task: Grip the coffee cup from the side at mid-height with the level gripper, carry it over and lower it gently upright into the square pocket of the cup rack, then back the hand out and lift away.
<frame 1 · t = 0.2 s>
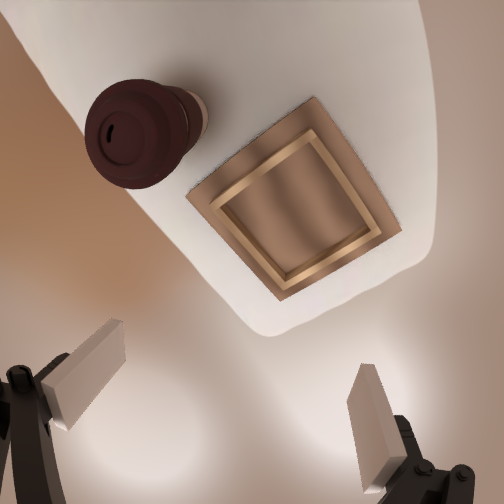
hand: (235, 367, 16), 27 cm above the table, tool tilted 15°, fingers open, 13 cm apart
coffee cup: (181, 117, 35), on the table
cup rack: (296, 207, 39), on the table
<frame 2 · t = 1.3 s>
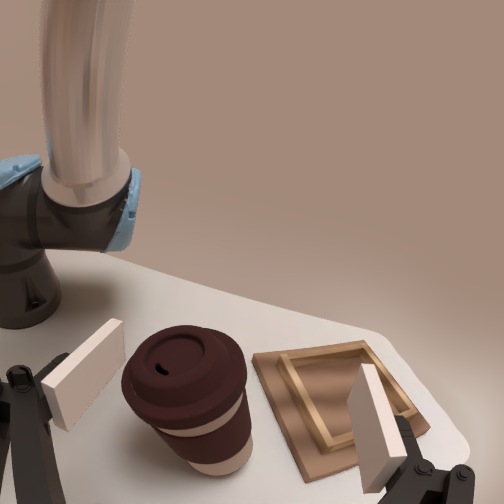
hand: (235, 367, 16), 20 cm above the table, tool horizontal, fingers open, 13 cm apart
coffee cup: (219, 449, 28), point 1 cm above the table
cup rack: (341, 401, 38), on the table
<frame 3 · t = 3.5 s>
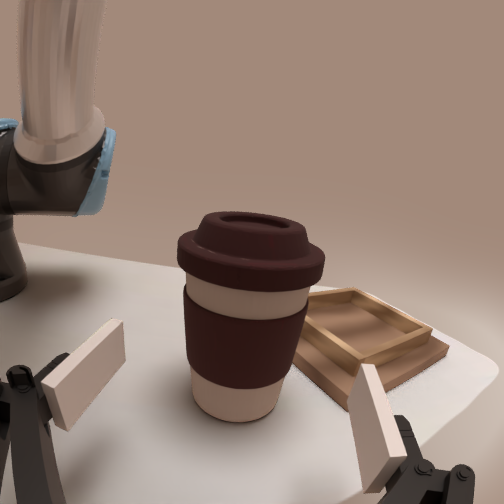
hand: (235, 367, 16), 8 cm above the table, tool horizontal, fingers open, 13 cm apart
coffee cup: (234, 396, 25), on the table
cup rack: (349, 339, 37), on the table
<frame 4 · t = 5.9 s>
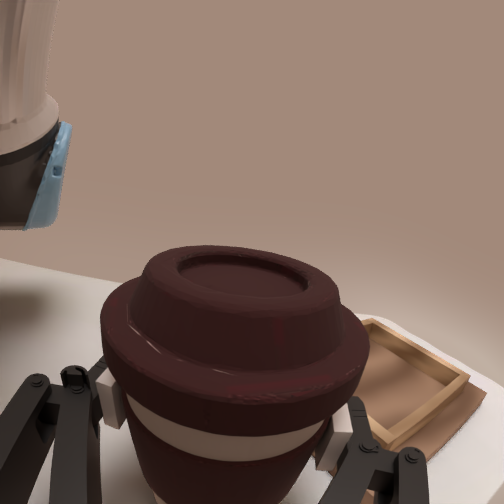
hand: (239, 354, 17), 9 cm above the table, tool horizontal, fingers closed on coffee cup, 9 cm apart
coffee cup: (213, 496, 15), on the table, touching gripper
cup rack: (368, 391, 27), on the table
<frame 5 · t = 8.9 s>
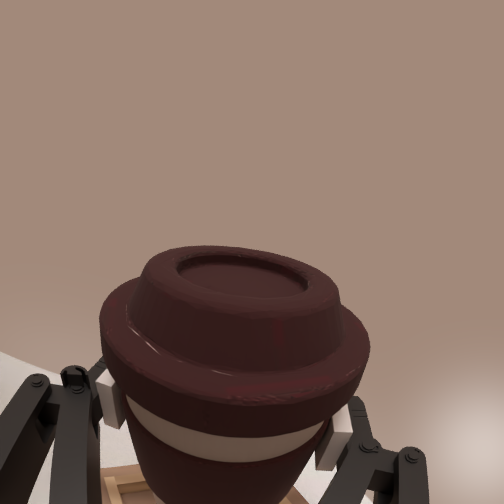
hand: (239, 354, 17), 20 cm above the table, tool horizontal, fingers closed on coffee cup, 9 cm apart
coffee cup: (213, 497, 15), point 11 cm above the table, touching gripper
when the fingers open (11 cm above the table, at t = 11.9 s): coffee cup drops 1 cm, resting on cup rack.
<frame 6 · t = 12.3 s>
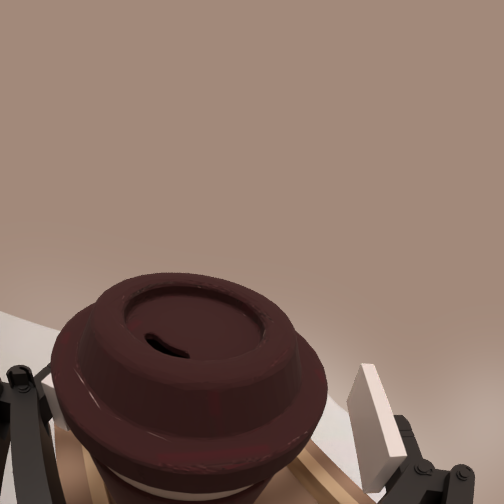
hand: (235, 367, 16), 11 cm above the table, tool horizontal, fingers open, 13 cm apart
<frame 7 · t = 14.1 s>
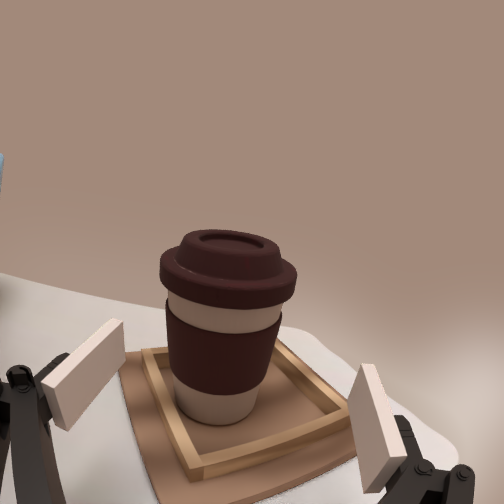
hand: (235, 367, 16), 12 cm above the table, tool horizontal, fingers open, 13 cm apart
coffee cup: (214, 401, 26), point 1 cm above the table, touching cup rack
cup rack: (236, 410, 27), on the table
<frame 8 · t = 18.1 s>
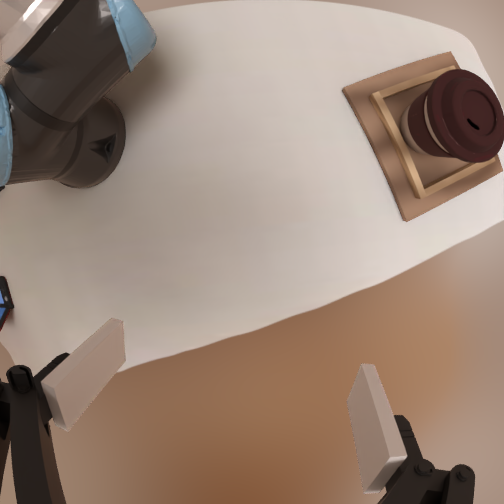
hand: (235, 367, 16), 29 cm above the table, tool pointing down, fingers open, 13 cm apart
coffee cup: (421, 129, 36), point 1 cm above the table, touching cup rack
cup rack: (431, 130, 36), on the table
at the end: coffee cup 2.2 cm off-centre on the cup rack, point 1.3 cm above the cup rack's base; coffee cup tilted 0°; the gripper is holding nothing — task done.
